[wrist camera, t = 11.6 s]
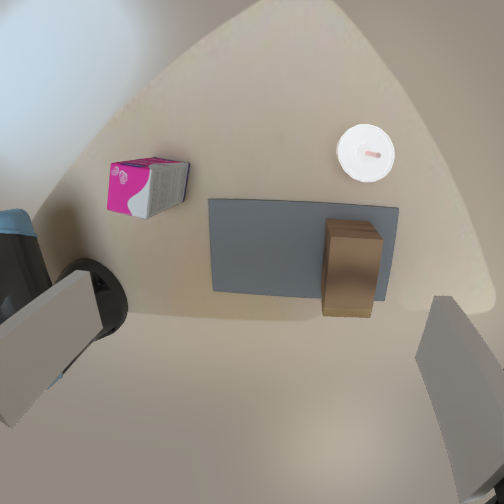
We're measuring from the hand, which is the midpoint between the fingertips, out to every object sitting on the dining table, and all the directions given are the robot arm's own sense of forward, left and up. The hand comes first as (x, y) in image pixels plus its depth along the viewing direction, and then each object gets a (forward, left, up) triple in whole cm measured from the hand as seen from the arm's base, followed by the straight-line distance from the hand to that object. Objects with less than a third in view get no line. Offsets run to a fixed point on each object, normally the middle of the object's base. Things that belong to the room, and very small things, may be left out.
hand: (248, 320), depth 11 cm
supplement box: (-17, +1, -32) cm, 36 cm away
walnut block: (+8, -9, -31) cm, 33 cm away
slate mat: (+2, -9, -32) cm, 33 cm away
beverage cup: (+8, +5, -32) cm, 33 cm away
